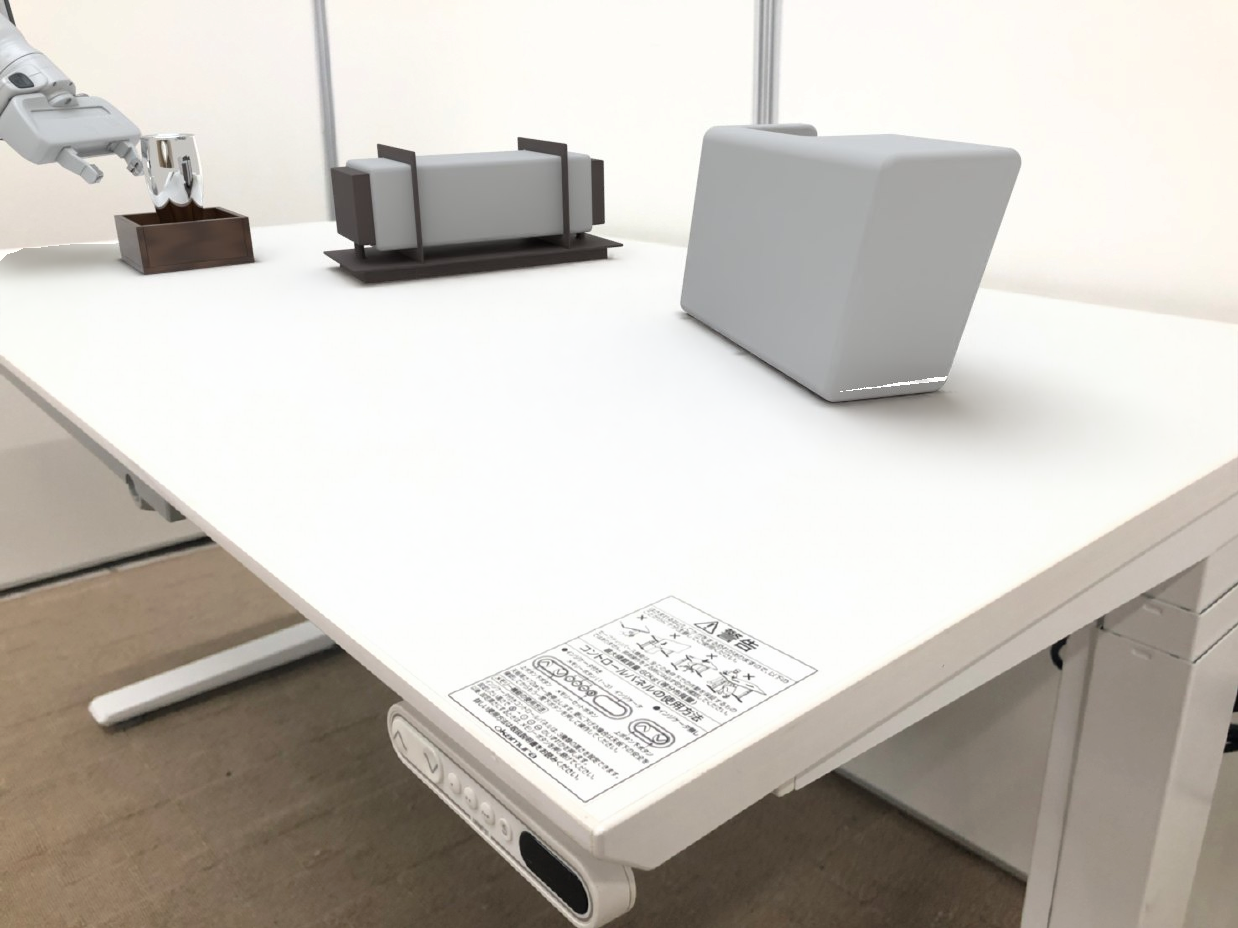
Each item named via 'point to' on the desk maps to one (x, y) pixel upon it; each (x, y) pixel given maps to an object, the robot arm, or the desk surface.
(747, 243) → the grey tapered block
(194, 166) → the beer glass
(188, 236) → the crate
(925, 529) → the desk surface
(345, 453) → the desk surface
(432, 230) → the light fixture
